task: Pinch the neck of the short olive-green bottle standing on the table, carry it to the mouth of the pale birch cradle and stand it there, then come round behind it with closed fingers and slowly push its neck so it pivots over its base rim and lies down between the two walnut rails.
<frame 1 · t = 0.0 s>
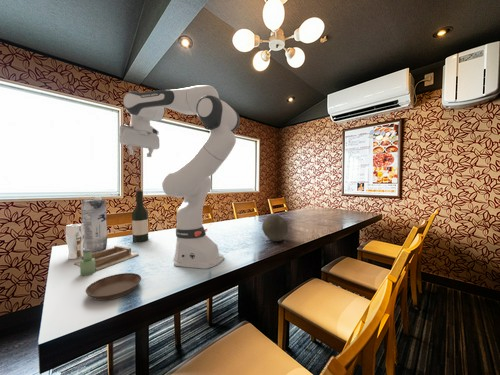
hand: (141, 155, 102), 48 cm above the table, fingers open, 8 cm apart
bottle: (88, 273, 77), on the table
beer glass: (76, 257, 94), on the table
wine bottle: (140, 240, 119), on the table
saucer: (115, 291, 65), on the table
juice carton: (95, 249, 104), on the table
cantaloupe: (275, 241, 116), on the table
cradle: (108, 259, 90), on the table
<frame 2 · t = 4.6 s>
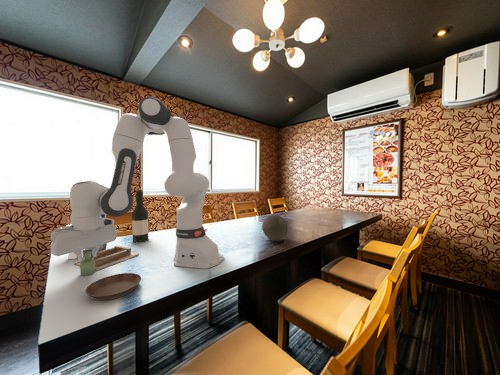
hand: (87, 259, 77), 5 cm above the table, fingers closed on bottle, 2 cm apart
bottle: (88, 273, 77), on the table, touching gripper
everything else where it was.
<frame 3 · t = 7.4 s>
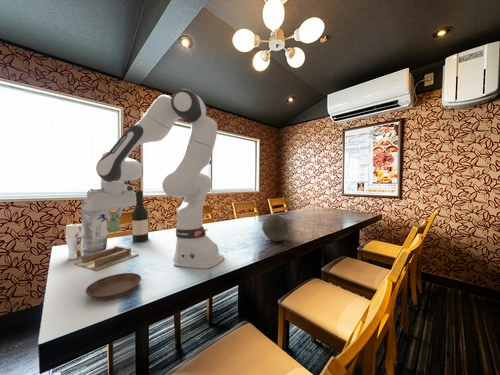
hand: (113, 217, 92), 18 cm above the table, fingers closed on bottle, 2 cm apart
bottle: (113, 230, 93), point 12 cm above the table, touching gripper
everything else where it was.
when the fingers open (7 cm above the table, at t = 10.3 s): bottle stays where it is, resting on cradle.
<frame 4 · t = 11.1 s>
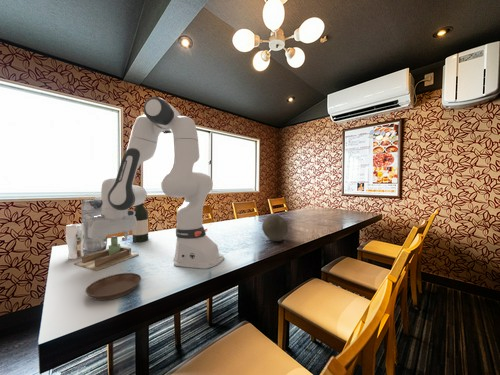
hand: (114, 243, 93), 7 cm above the table, fingers open, 8 cm apart
bottle: (114, 255, 93), point 1 cm above the table, touching cradle
everything else where it was.
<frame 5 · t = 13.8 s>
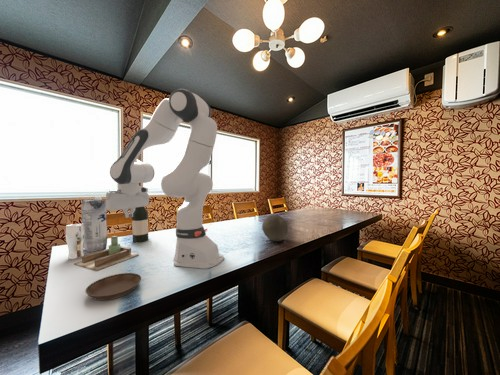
hand: (129, 217, 99), 17 cm above the table, fingers closed
nothing on the table moved.
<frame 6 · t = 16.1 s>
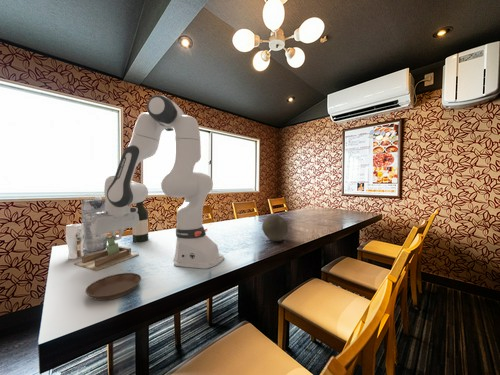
hand: (117, 239, 94), 8 cm above the table, fingers closed
bottle: (114, 254, 93), point 1 cm above the table, tilted 12°, touching cradle, gripper
everything else where it was.
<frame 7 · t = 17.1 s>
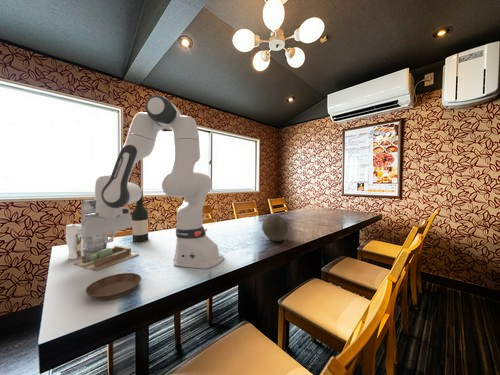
hand: (109, 242, 91), 8 cm above the table, fingers closed
bottle: (109, 252, 91), point 3 cm above the table, tilted 90°, touching cradle
everything else where it was.
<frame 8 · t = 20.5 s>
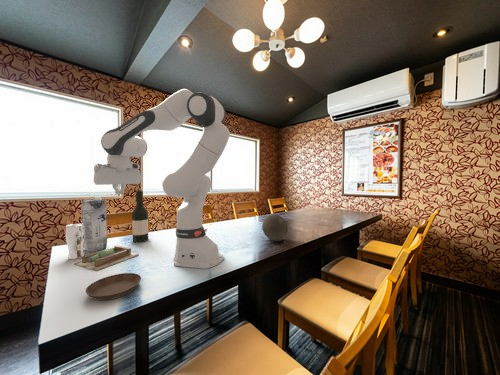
hand: (119, 194, 95), 29 cm above the table, fingers closed
bottle: (111, 252, 91), point 3 cm above the table, tilted 90°, touching cradle
everything else where it was.
at the end: bottle tilted 90°; bottle inside the target area (1.3 cm from its centre), point 2.8 cm above the table; the gripper is holding nothing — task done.
